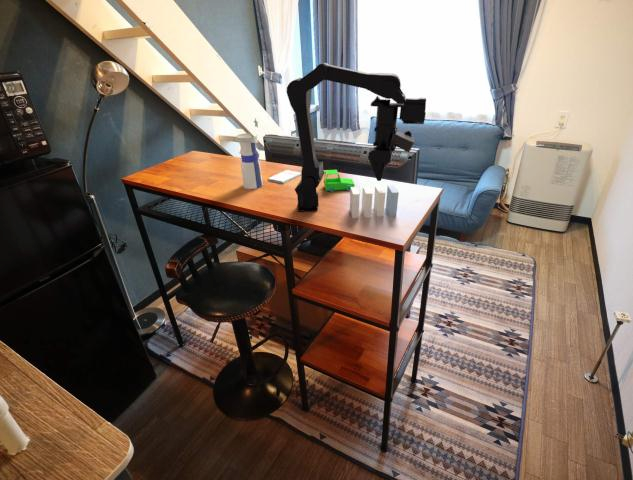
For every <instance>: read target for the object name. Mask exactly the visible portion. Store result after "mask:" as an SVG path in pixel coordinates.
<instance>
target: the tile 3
mask: <svg viewBox="0 0 633 480" xmlns="http://www.w3.org/2000/svg"><path fill="white" fill-rule="evenodd" d="M373 200H374V201H373V211H374V212H375V215H376V217H377V218H379V217H385V216H384V215H385V206H386V191H385V190H384V188H383V186H382V185H375V187H374V199H373Z"/></svg>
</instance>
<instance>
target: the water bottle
mask: <svg viewBox="0 0 633 480" xmlns="http://www.w3.org/2000/svg"><path fill="white" fill-rule="evenodd" d="M253 122H254V125H255V127H256V128H259V126H258V123H259V122H258V121H257V118H256V117H255V118H254V120H253ZM258 139H259V138H258V134H256V135H254V136H252V133H249V132H247V133H246V132H245V133H240V134H236V137H235V139H234V140H235V142H236V143H239V145H240V150H239V154H240V157H241V158H240V159H241V162H240V166H241V175H242V177H241V178H242V187H243V188H244V189H246V190H256V189H259V188H262V187H263V186H264V183H263V178H262V170H261V169H262V168H261V162H260V160H259V158H260V153H259V150H258V149H257V144H259V140H258Z"/></svg>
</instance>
